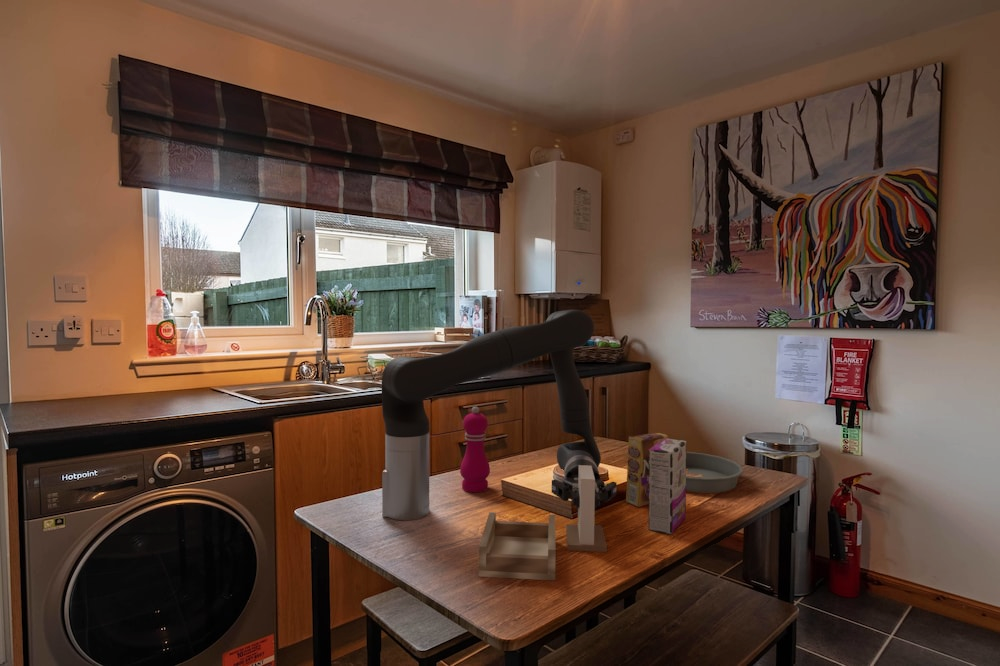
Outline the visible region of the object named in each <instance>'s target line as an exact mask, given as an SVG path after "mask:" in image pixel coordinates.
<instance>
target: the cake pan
mask: <svg viewBox="0 0 1000 666" xmlns="http://www.w3.org/2000/svg"><path fill="white" fill-rule="evenodd" d="M686 469H688V470H687V471H688V473H691V475H692V474H694V475H699V474H702V476H703V477H690V476H686V492H688V491H691V492H690V493H698V492H700V493H699V494H701V493H702V494H710V493H711V494H712V493H713V494H714V493H715V494H717V493H724V492H728V491H731V490H734V489H735V488H736V487H737V484H738V480H739V476H741V475H742V474H744V472H745V469H744V467H743V466H742V465H741V464H739V463H738V462H736V461H734V460H732V459H729V458H725V457H722V456H718V455H714V454H709V453H708V454H707V453H700V452H695V451H693V452H691V451H686Z"/></svg>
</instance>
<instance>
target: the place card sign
mask: <svg viewBox="0 0 1000 666" xmlns="http://www.w3.org/2000/svg"><path fill="white" fill-rule="evenodd" d="M578 491H579V495H580V508H577V524H574V523H571V524H570V523H566V524H565V528H566V529H565V533H566V545H567V548H566V549H567V551H574V552H576V551H577V552H596V553H608V552H607V551H608V546H607V541H606V537H605V533H604V532H605V531H604V529H603V525H599V524H598V525H597V524H595V510H596V509H595V478H594V474H593V470H592V466H588V465H579V473H578Z"/></svg>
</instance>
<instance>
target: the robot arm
mask: <svg viewBox="0 0 1000 666" xmlns="http://www.w3.org/2000/svg"><path fill="white" fill-rule="evenodd" d="M594 330H595V323H594V321H593V319H592V317H591V316H590V315H589V314H588V313H586V312H584V311H582V310H579V309H567V310H558V311H554V312H552V313H551V314H549V315H548V317H547V318H546V320H545V321H544V322H539V323H535V324H529V325H520V326H519V325H518V326H513V327H512V326H511V327H508V328H503V329H499V330H498V329H497V330H495V331H491V332H488V333H485V334H482V335H479V336H476V337H474V338H472V339H470V340H468V341H466V342H465V343H463V344H462V345H460V346H458V347H456V348H455V349H453V350H450V351H447V352H444V353H441V354H436V355H432V356H425V357H420V358H418V357H417V358H416V357H412V356H407V355H402V356H401V355H400V356H397V357H394V358H392V359H390V360H389V361H388V362H387V363H386V365H385V366H384V368H383V371H382V375H381V405H382V407H381V411H382V412H381V413H382V418H383V422H384V429H385V430H384V432H385V433H384V435H385V439H384V441H385V442H384V443H385V445H384V446H385V456H384V458H385V461H384V462H385V464H384V465H385V469H384V470H383V471H382V474H381V475H382V476H381V481H382V486H381V487H382V490H381V491H382V494H381V497H382V498H381V499H382V501H381V503H382V510H381V512H382V517H387V518H390V519H393V520H396V521H398V520H399V521H410V520H417V519H420V518H423V517H425V516H427V515H428V514H429V513H430V420H429V417H428V415H427V413H426V410H425V409H426V408H425V405H424V403H425V401H424V400H426V399H428V398H431V397H433V396H435V395H437V394H439V393H442V392H444V391H446V390H448V389H450V388H453V387H454V386H458V385H460V384H464V383H468V382H472V381H475V380H479V379H482V378H485V377H489V376H493V375H495V374H499V373H501V372H505V371H508V370H511V369H514V368H516V367H518V366H521V365H524V364H526V363H528V362H532V361H533V360H536V359H538V358H541V357H542V356H546V355H548V354H549V355H550V360H551V364H552V369H553V373H554V376H555V377H554V378H555V381H556V387H557V393H558V402H559V413H560V423H561V424H560V425H561V426H560V427H561V429H562V431H563V432H564V433H566V434H570V435H576V436H577V435H578V436H580V437H581V438H582V439H583V441H572V442H570V441H569V442H564V443H561V444H560V445H559V446H558V447H557V451H556V460H557V462H556V463H557V464H558V466H559V468H560V470H561V469H563V470H564V472H563V474H564V475H563V480H562V481H561V480H560V481H559V480H557V479H551V493H552V494H553V495H555V496H556V497H557V498H559V499H560V500H562V501H564V502H568V501H569V500H571V505H573V506H575V508H576V509H578V508H580V495H579V491H578V473H579V465H588V466H592V470H593V474H594V478H595V509H594V510H596V509H597V507H600V506H601V502H602V503H608V502H609V501H611V499H613V498H614V497H615V496H617V482H616V481H610V482H606V483H605V481H603V480H602V478H601V474H600V471H599V469H598V467H600V464H601V459H602V457H601V451H600V449H599V447H598V445H597V442H596V439H595V436H594V434H593V431H592V430H593V429H592V426H591V425H592V424H591V419H590V408H589V399H588V395H587V392H586V389H585V386H584V385H583V382H582V380H581V378H580V375H579V373H578V370H577V367H576V364H575V359H574V348H579V347H580V348H581V347H582V346H584V345H586V344H587V343H588V342H589V341H590V340H591V338H592V336H593V334H594V332H595V331H594Z"/></svg>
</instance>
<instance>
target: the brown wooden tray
mask: <svg viewBox="0 0 1000 666" xmlns="http://www.w3.org/2000/svg"><path fill="white" fill-rule="evenodd" d="M496 513H497V512H493V511H491V512H490V511H489V512H488V516H487V519H486V521H485V525H484V527H483V531H482V535H481V537H480V541H479V544H478V577H483V578H500V579H517V580H518V579H519V580H521V579H522V580H535V581H536V580H537V581H538V580H539V581H540V580H541V581H556V549H557V548H556V515H555V514H548V522H531V521H510V520H509V521H508V520H507V521H505V520H497V519H496V518H497V517H496V515H497V514H496Z"/></svg>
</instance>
